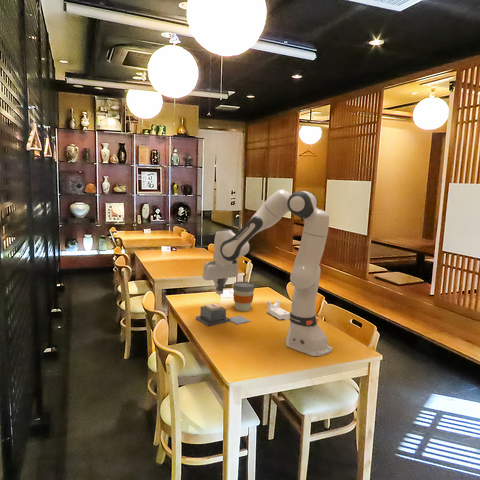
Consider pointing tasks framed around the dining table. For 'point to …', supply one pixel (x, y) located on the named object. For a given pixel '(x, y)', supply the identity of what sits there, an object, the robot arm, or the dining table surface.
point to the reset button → (213, 307)
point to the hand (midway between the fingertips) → (219, 286)
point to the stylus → (220, 286)
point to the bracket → (277, 310)
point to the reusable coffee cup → (243, 295)
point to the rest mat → (239, 320)
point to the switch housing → (212, 316)
